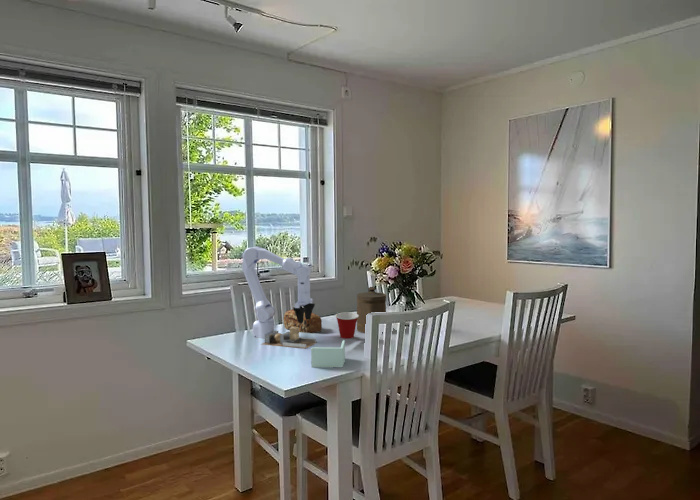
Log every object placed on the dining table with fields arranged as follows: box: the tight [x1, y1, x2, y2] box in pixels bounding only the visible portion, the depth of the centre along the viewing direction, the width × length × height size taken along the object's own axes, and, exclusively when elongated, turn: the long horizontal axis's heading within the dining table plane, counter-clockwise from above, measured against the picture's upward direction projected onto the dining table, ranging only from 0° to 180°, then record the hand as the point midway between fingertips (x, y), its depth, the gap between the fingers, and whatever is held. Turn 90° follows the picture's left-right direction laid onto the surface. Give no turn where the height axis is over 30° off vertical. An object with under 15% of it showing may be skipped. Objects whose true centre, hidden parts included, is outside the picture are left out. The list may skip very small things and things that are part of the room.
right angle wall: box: [310, 340, 346, 368], centre depth 195 cm, size 12×12×8 cm
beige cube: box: [280, 327, 302, 344], centre depth 219 cm, size 7×7×7 cm
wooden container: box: [356, 286, 387, 334], centre depth 249 cm, size 15×15×22 cm
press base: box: [261, 330, 318, 350], centre depth 220 cm, size 22×12×6 cm, turn 68°
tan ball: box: [274, 332, 283, 343], centre depth 222 cm, size 4×4×4 cm
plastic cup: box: [335, 311, 359, 339], centre depth 230 cm, size 11×11×12 cm
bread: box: [283, 308, 323, 334], centre depth 251 cm, size 19×11×10 cm, turn 45°
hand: (304, 320), depth 229 cm, fingers open, 7 cm apart
